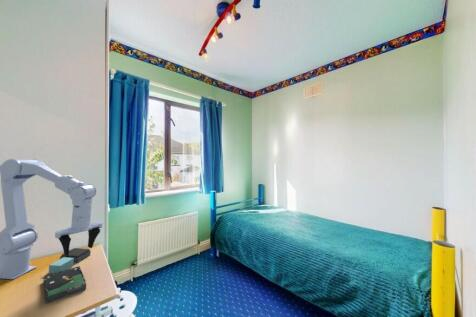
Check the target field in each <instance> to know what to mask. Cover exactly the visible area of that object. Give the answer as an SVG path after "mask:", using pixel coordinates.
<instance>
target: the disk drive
mask: <svg viewBox="0 0 476 317" xmlns="http://www.w3.org/2000/svg"><path fill="white" fill-rule="evenodd" d="M43 287H44V290H43V291H44V301H45V304H50V303H52V302H54V301H57V300H58V301H59V300H60V299H63V298H65V297H68V296H69V297H70V296H72V295H75V294H77V293H80V292H83V291H85V290H87V283H86V279H85V277H84V274H83V271H82V268H81V267H80V265H79V266H76V267H75V266H74V267H71V268H69V269H67V270H64V271H60V272H59V273H57V274H53V273H49V274H46V275H44V277H43Z"/></svg>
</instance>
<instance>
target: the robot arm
mask: <svg viewBox="0 0 476 317" xmlns="http://www.w3.org/2000/svg"><path fill="white" fill-rule="evenodd" d="M35 176H38V177H41V178H43V179H45V180H47V181H49V182H52V183H54V187H55V188H56V189H58V190H60V191H61V192H64V193H65V194H67V195H69V198H70V199H71V204H72V214H71V215H72V216H71V226H70V227H67V228H64V229H61V230H58V231H57V230H56V231H55V232H54V237H55V239H58V240H59V242H60V243H61V247H62V250H63V254H65V255H69V251H70V244H71V240H72V238H71V237H70V235H75V234H79V233H83V232H87V231H88V232H87V234H88V240H87V247H88V249H89V248H90V249H92V248H93V246H94V244H95V241H96V239H97V237H98V235H100V233H101V229H102V228H103V222H101V221H100V222H93V223H91V216H92V208H93V207H92V205H93V198H94V197H95V196H96V195H97V188H96V187H95V186H94V185H93V184H92V183H87V184H85V182H83V181H80V180H78V179H76V178H74V176H73V175H71V174H70V175H68V174H65V175H62V174H60V173H59V172H57V171H56V170H54V169H52V168H51V167H50V166H47V165H46V164H45V162H44V161H41V160H40V159H36V158H33V159H20V158H19V159H15V158H9V159H6V160H5V161H4V162H3V163H1V165H0V185H1V186H0V187H1V194H2V203H3V210H4V212H3V214H4V220H5V227H4V228H3V229H2V230H1V231H0V279H4V280H5V279H6V280H15V279H17V278H19V277H21V276H23V275H24V274H26V273H28V272H30V271H32V270H34V269H36V268H37V266H36V265H30V263H31V251H32V247H33V245H34V243H36V241H38V237H39V236H38V232H37V230H36V228H35V225H34V224H32V223H30V222H28V216H27V208H26V201H25V192H24V183H26V181H28V180H30V179H31V178H33V177H35Z"/></svg>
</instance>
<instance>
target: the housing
mask: <svg viewBox="0 0 476 317" xmlns="http://www.w3.org/2000/svg"><path fill="white" fill-rule="evenodd" d="M73 267H74V258H66V257H63V258H61V259H60V258H59V259H58V260H56V261H54V262H52V263H51V264H49V266H48V274H53V273H56V274H57V273H59V272H60V271H64V270H68V269H71V268H73Z"/></svg>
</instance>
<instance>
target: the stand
mask: <svg viewBox="0 0 476 317" xmlns="http://www.w3.org/2000/svg"><path fill="white" fill-rule="evenodd" d="M90 249H91V248H90ZM90 249H89V248H80V247H73V248H71V249H69V255H65V254H64V253H62V254H61V255H60V256H59V260H60V259H61V258H63V257H66V258H74V263H76V264H77V263H78V264H79V262H81V261H83V260H84V259H86V258H87V257H90V256H91V252H92V250H90Z"/></svg>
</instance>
